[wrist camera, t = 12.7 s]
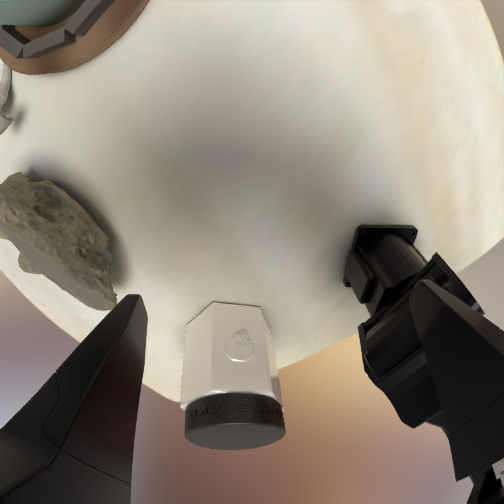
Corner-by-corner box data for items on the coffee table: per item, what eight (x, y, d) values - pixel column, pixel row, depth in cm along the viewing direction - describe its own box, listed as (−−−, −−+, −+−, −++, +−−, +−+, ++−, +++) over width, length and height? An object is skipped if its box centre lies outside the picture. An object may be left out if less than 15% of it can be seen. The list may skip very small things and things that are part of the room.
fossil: (78, 140, 19) (-7, 191, 16) (47, 125, 10) (-67, 212, 7) (136, 280, 25) (55, 319, 23) (146, 342, 16) (37, 389, 14)
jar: (282, 306, 27) (307, 421, 17) (261, 353, 32) (274, 449, 22) (189, 296, 25) (179, 419, 16) (184, 347, 30) (178, 447, 20)
